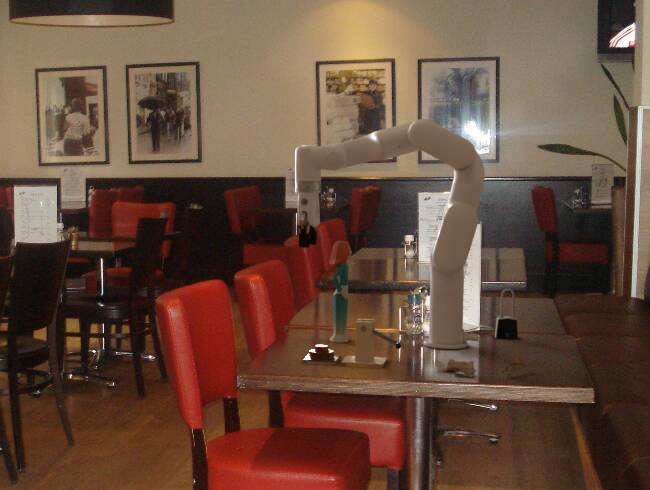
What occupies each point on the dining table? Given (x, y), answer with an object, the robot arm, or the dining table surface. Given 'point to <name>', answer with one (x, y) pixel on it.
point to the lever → (388, 338)
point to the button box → (321, 356)
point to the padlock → (507, 322)
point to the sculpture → (340, 290)
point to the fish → (517, 368)
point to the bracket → (364, 345)
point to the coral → (456, 367)
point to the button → (321, 348)
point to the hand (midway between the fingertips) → (307, 245)
